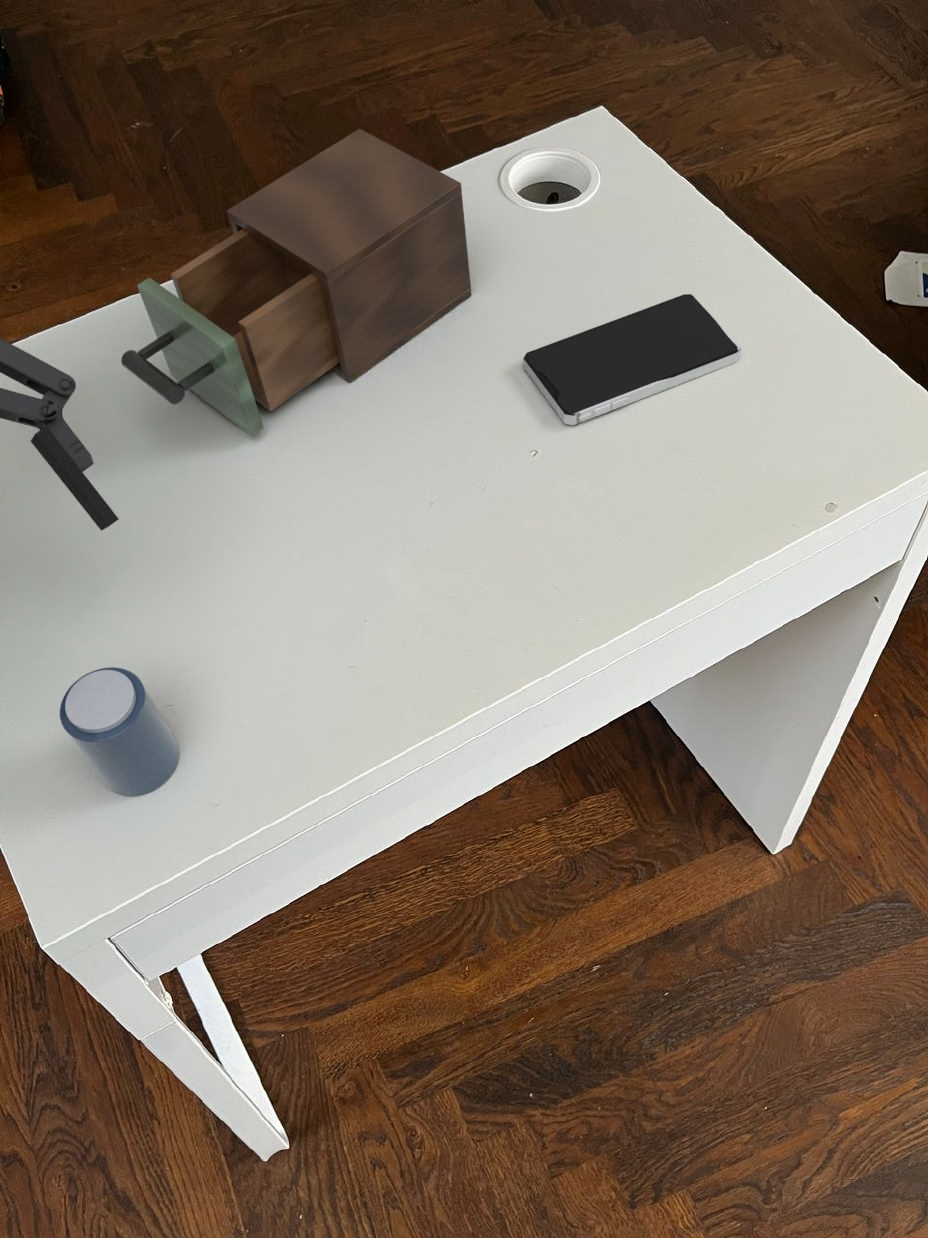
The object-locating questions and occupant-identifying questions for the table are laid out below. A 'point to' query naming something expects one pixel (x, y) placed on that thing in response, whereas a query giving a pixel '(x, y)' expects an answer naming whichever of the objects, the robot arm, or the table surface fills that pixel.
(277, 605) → the table surface
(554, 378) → the smartphone
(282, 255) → the drawer
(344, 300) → the cabinet
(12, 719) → the table surface
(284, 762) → the table surface
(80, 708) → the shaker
